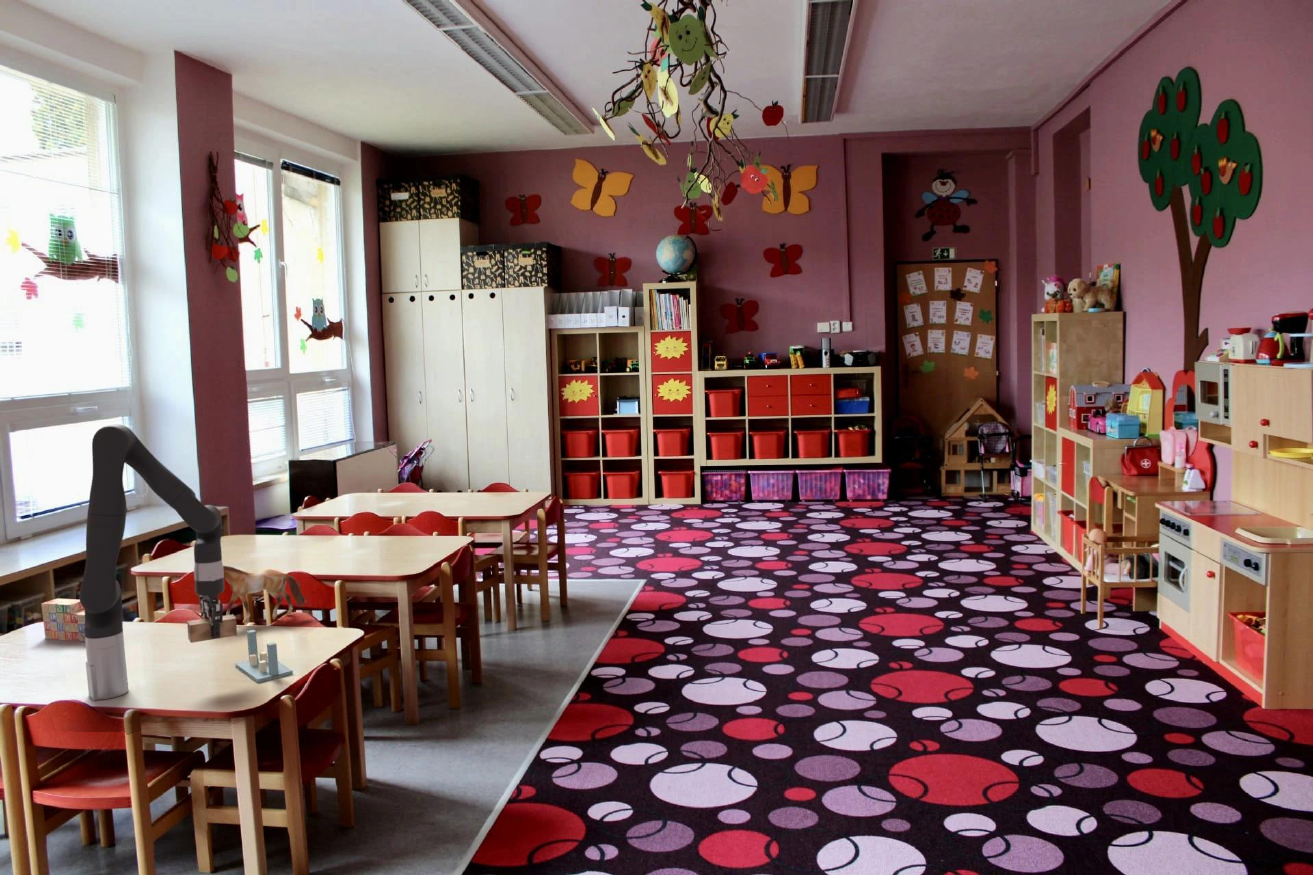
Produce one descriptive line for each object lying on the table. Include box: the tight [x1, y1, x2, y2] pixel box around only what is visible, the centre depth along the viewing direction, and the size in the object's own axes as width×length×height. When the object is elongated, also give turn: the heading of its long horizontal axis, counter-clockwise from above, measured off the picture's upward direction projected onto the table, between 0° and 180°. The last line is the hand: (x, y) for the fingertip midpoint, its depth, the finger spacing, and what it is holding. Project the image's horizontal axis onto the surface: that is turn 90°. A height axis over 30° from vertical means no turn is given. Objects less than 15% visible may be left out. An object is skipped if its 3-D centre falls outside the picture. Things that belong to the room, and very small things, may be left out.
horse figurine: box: [223, 565, 308, 624], centre depth 339 cm, size 31×8×21 cm, turn 104°
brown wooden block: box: [186, 613, 238, 644], centre depth 277 cm, size 12×5×5 cm, turn 123°
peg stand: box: [234, 629, 294, 683], centre depth 286 cm, size 10×19×10 cm, turn 41°
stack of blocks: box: [40, 598, 85, 642], centre depth 325 cm, size 21×6×12 cm, turn 72°
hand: (212, 634), depth 277 cm, fingers closed on brown wooden block, 5 cm apart
